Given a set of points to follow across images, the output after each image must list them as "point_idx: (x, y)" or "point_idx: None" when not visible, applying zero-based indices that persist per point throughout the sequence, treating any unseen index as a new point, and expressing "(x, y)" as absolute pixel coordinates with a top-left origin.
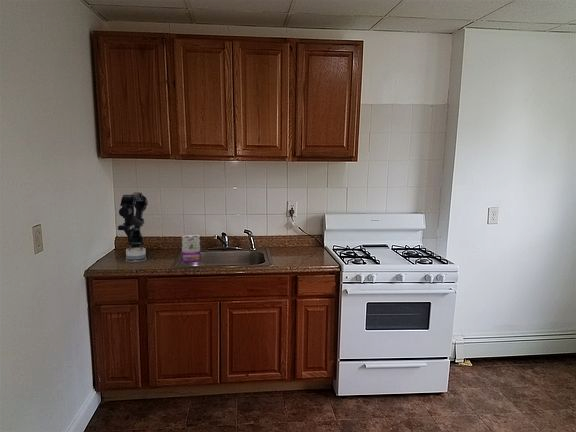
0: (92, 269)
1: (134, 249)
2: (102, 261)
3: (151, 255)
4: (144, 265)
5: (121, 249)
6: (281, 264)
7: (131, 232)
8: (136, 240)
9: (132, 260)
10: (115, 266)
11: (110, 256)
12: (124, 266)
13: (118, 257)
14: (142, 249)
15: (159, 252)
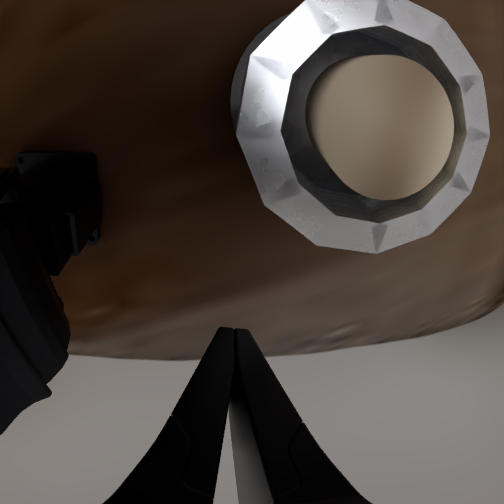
0: (487, 304)
1: (406, 142)
2: (341, 332)
3: (115, 15)
4: (493, 28)
5: None
6: None
7: (275, 473)
8: (32, 251)
9: None
10: (483, 219)
11: (197, 337)
12: (498, 163)
13: (223, 284)
14: (412, 29)
15: (6, 14)
